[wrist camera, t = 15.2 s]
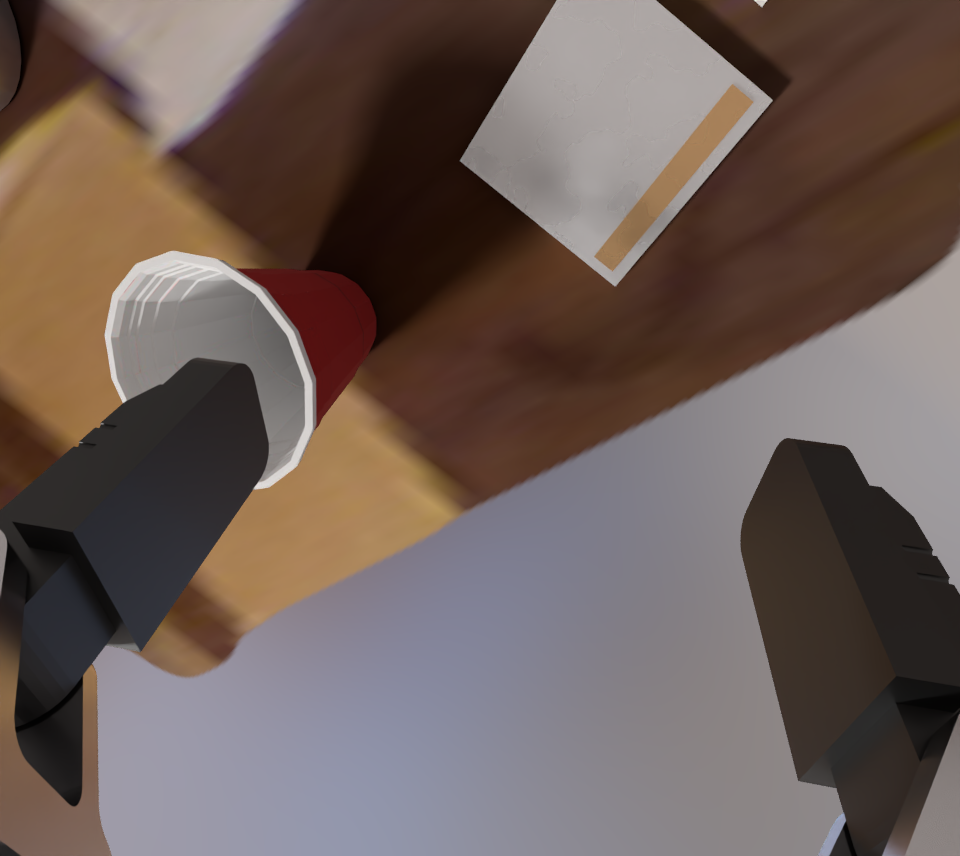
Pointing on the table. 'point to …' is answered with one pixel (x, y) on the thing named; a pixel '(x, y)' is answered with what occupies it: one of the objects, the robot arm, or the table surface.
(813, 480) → the robot arm
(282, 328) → the plastic cup
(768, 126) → the table surface
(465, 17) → the table surface
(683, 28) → the plate
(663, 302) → the table surface
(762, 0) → the white square tray
